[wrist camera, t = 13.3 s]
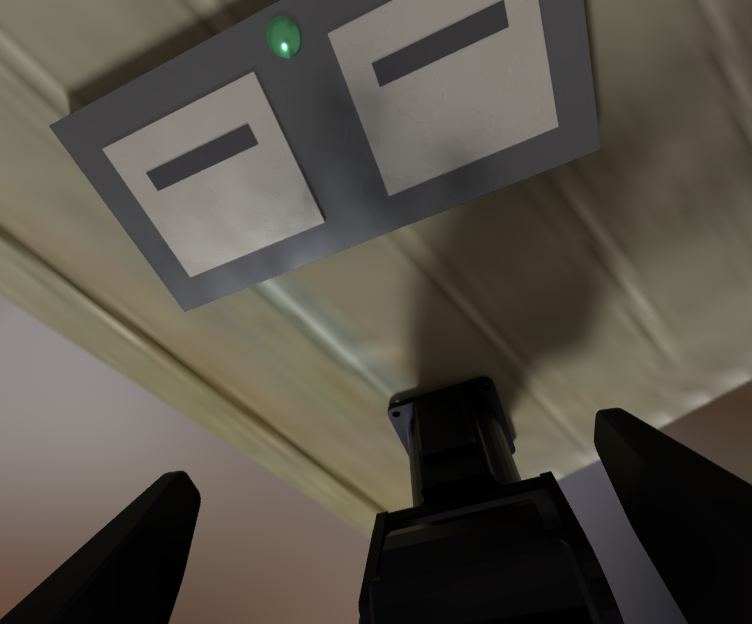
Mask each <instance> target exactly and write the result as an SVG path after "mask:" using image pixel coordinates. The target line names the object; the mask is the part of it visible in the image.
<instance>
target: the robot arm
mask: <svg viewBox="0 0 752 624" xmlns="http://www.w3.org/2000/svg"><path fill="white" fill-rule="evenodd" d="M485 384H488V386H486V387H482V386H483V385H485ZM394 411H399V412H397V413H395V412H394ZM388 417H389V418H390V420H391V422H392V424H393V426H394V428H395V430H396V432H397V434H398V436H399V438H400V440H401V442H402V444H403V445H404V447H405V449H406V451H407V453H408V455H409V460H410V472H411V484H412V497H413V507H411V508H407V509H403V510H399V511H394V512H390V513H388V511H386V512H382V513H378V514H377V515H376V520H375V525H374V530H373V533H372V538H371V543H370V548H369V553H368V558H367V563H366V568H365V573H364V578H363V583H362V588H361V593H360V598H359V613H360V618H359V624H624V622H623V619H622V616H621V614H620V611H619V608H618V606H617V603H616V601H615V598H614V596H613V593H612V591H611V589H610V586H609V584H608V581H607V579H606V577H605V574H604V573H603V570H602V568H601V566H600V563H599V561H598V559H597V557H596V555H595V553H594V551H593V549H592V546H591V545H590V543H589V541H588V539H587V537H586V535H585V533H584V531H583V529H582V527H581V526H580V524H579V522H578V520H577V518H576V516H575V515H574V513H573V511H572V509H571V507H570V505H569V503H568V502H567V500H566V498H565V496H564V494H563V492H562V490H561V489H560V487H559V485H558V483H557V481H556V479H555V477H554V476H553V474H552V472H551V471H550V472H546V473H542V474H540V476H538V477H534V478H530V479H526V480H521V478H520V475H519V473H518V470H517V467H516V465H515V462H514V459H513V457H512V454H514V453H515V446H514V443H513V440H512V437H511V434H510V431H509V428H508V425H507V422H506V419H505V416H504V413H503V410H502V406H501V403H500V400H499V397H498V394H497V391H496V388H495V385H494V383H493V380H492V379H491V378H489V377H481V378H477V379H474V380H471V381H467V382H464V383H461V384H457V385H454V386H451V387H447V388H444V389H440V390H437V391H434V392H430V393H427V394H424V395H420V396H417V397H414V398H410V399H407V400H404V401H400V402H397V403H394V404H391V405H390V406H389V407H388ZM594 443H595V447H596V450H597V452H598V455H599V457H600V459H601V461H602V463H603V465H604V467H605V470H606V472H607V474H608V476H609V479H610V481H611V483H612V485H613V487H614V490H615V492H616V494H617V496H618V498H619V500H620V503H621V505H622V507H623V509H624V511H625V514H626V515H627V518H628V520H629V522H630V524H631V526H632V528H633V530H634V531H635V533H636V535H637V537H638V539H639V540H640V542H641V544H642V545H643V547H644V549H645V551H646V552H647V554H648V556H649V557H650V559H651V561H652V562H653V564H654V566H655V567H656V569H657V571H658V573H659V574H660V576H661V578H662V580H663V581H664V583H665V585H666V586H667V588H668V590H669V591H670V593H671V595H672V597H673V598H674V600H675V602H676V603H677V605H678V607H679V608H680V610H681V612H682V614H683V615H684V617H685V619H686V621H687V622H688V624H752V485H751V484H750V483H748V482H746V481H745V480H743V479H741V478H740V477H738V476H736V475H734V474H733V473H731V472H729V471H728V470H726V469H724V468H722V467H720V466H719V465H717V464H716V463H714V462H712V461H710V460H708V459H707V458H705V457H703V456H702V455H700V454H698V453H697V452H695V451H693V450H692V449H690V448H688V447H687V446H685V445H683V444H681V443H680V442H678V441H676V440H675V439H672V438H671V437H669V436H667V435H666V434H664V433H662V432H661V431H659V430H657V429H656V428H654V427H652V426H651V425H649V424H647V423H645V422H644V421H642V420H640V419H639V418H637V417H635V416H633V415H632V414H630V413H628V412H627V411H625V410H623V409H621V408H610V409H603V410H599V411H598V412H597V413H596V418H595V431H594ZM200 503H201V497H200V493H199V491H198V489H197V488H196V486H195V485H194V483H193V482H192V480H191V479H190V477H189V476H188V474H187V473H186V472H184V471H175V472H168V473H165V474H163V475H162V476H161V477H160V478H159V479H158V480H156V481H155V482H154V483H153V484H152V485H151V486H150V487H149V488H147V489H146V490H145V491H144V492H143V493H142V494H141V495H140V496H138V497H137V498H136V499H135V500H134V501H133V502H132V503H131V504H130V505H128V506H127V507H126V508H125V509H124V510H123V511H122V512H120V513H119V514H118V515H117V516H116V517H115V518H114V519H113V520H112V521H110V522H109V523H108V524H107V525H106V526H105V527H104V528H103V529H101V530H100V531H99V532H98V533H97V534H96V535H95V536H94V537H92V538H91V539H90V540H89V541H88V542H87V543H86V544H85V545H83V547H81V548H80V549H79V550H78V551H77V552H76V553H74V554H73V555H72V556H71V557H70V558H69V559H68V560H67V561H66V562H64V563H63V564H62V565H61V566H60V567H59V568H58V569H56V570H55V571H54V572H53V573H52V574H51V575H50V576H49V577H47V579H45V580H44V581H43V582H42V583H41V584H40V585H39V586H37V587H36V588H35V589H34V590H33V591H32V592H31V593H30V594H28V595H27V596H26V597H25V598H24V599H23V600H22V601H21V602H19V603H18V604H17V605H16V606H15V607H14V608H13V609H12V610H11V611H9V612H8V613H7V614H6V615H5V616H4V617H3V618H1V619H0V624H168V623H169V620H170V617H171V614H172V611H173V608H174V605H175V602H176V599H177V595H178V592H179V589H180V586H181V583H182V579H183V576H184V572H185V568H186V564H187V560H188V555H189V552H190V547H191V542H192V538H193V534H194V530H195V526H196V521H197V517H198V512H199V508H200Z"/></svg>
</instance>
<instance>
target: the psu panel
mask: <svg viewBox="0 0 752 624" xmlns="http://www.w3.org/2000/svg"><path fill="white" fill-rule="evenodd" d="M50 128H51V129H52V131H53V132H54V133H55V135H56V136H57V137H58V139H59V140H60V142H61V143H62V144H63V146H64V147H65V148H66V150H67V151H68V153H69V154H70V155H71V157H72V158H73V159H74V161H75V162H76V164H77V165H78V166H79V168H80V169H81V170H82V172H83V173H84V174H85V176H86V177H87V179H88V180H89V181H90V183H91V184H92V185H93V187H94V188H95V190H96V191H97V192H98V194H99V195H100V196H101V198H102V199H103V201H104V202H105V203H106V205H107V206H108V207H109V209H110V210H111V212H112V213H113V214H114V216H115V217H116V218H117V220H118V221H119V222H120V224H121V225H122V227H123V228H124V229H125V231H126V232H127V233H128V235H129V236H130V238H131V239H132V240H133V242H134V243H135V244H136V246H137V247H138V249H139V250H140V251H141V253H142V254H143V255H144V257H145V258H146V260H147V261H148V262H149V264H150V265H151V266H152V268H153V269H154V271H155V272H156V273H157V275H158V276H159V277H160V279H161V280H162V281H163V283H164V284H165V286H166V287H167V288H168V290H169V291H170V292H171V294H172V295H173V297H174V298H175V299H176V301H177V302H178V303H179V305H180V306H181V308H182V309H183V310H184V312H186V311H188V310H191V309H194V308H196V307H199V306H201V305H204V304H206V303H209V302H211V301H214V300H217V299H219V298H222V297H224V296H227V295H229V294H232V293H235V292H237V291H240V290H242V289H245V288H247V287H250V286H252V285H255V284H258V283H260V282H263V281H265V280H268V279H270V278H273V277H276V276H278V275H281V274H283V273H286V272H288V271H291V270H293V269H296V268H299V267H301V266H304V265H306V264H309V263H311V262H314V261H317V260H319V259H322V258H324V257H327V256H329V255H332V254H334V253H337V252H340V251H342V250H345V249H347V248H350V247H352V246H355V245H357V244H360V243H363V242H365V241H368V240H370V239H373V238H375V237H378V236H381V235H383V234H386V233H388V232H391V231H393V230H396V229H398V228H401V227H404V226H406V225H409V224H411V223H414V222H416V221H419V220H422V219H424V218H427V217H429V216H432V215H434V214H437V213H439V212H442V211H445V210H447V209H450V208H452V207H455V206H457V205H460V204H463V203H465V202H468V201H470V200H473V199H475V198H478V197H480V196H483V195H486V194H488V193H491V192H493V191H496V190H498V189H501V188H503V187H506V186H509V185H511V184H514V183H516V182H519V181H521V180H524V179H527V178H529V177H532V176H534V175H537V174H539V173H542V172H544V171H547V170H550V169H552V168H555V167H557V166H560V165H562V164H565V163H568V162H570V161H573V160H575V159H578V158H580V157H583V156H585V155H588V154H591V153H593V152H596V151H598V150H601V147H600V138H599V129H598V121H597V112H596V103H595V95H594V86H593V77H592V69H591V60H590V51H589V43H588V34H587V25H586V16H585V8H584V0H279V1H277V2H275V3H274V4H272V5H270V6H268V7H266V8H264V9H263V10H261V11H259V12H257V13H255V14H253V15H252V16H250V17H248V18H246V19H244V20H242V21H241V22H239V23H237V24H235V25H233V26H231V27H230V28H228V29H226V30H224V31H222V32H220V33H219V34H217V35H215V36H213V37H211V38H209V39H208V40H206V41H204V42H202V43H200V44H198V45H197V46H195V47H193V48H191V49H189V50H187V51H185V52H184V53H182V54H180V55H178V56H176V57H174V58H173V59H171V60H169V61H167V62H165V63H163V64H162V65H160V66H158V67H156V68H154V69H152V70H151V71H149V72H147V73H145V74H143V75H141V76H140V77H138V78H136V79H134V80H132V81H130V82H129V83H127V84H125V85H123V86H121V87H119V88H118V89H116V90H114V91H112V92H110V93H108V94H107V95H105V96H103V97H101V98H99V99H97V100H96V101H94V102H92V103H90V104H88V105H86V106H85V107H83V108H81V109H79V110H77V111H75V112H74V113H72V114H70V115H68V116H66V117H64V118H62V119H61V120H59V121H57V122H55V123H53V124H51V125H50Z"/></svg>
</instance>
